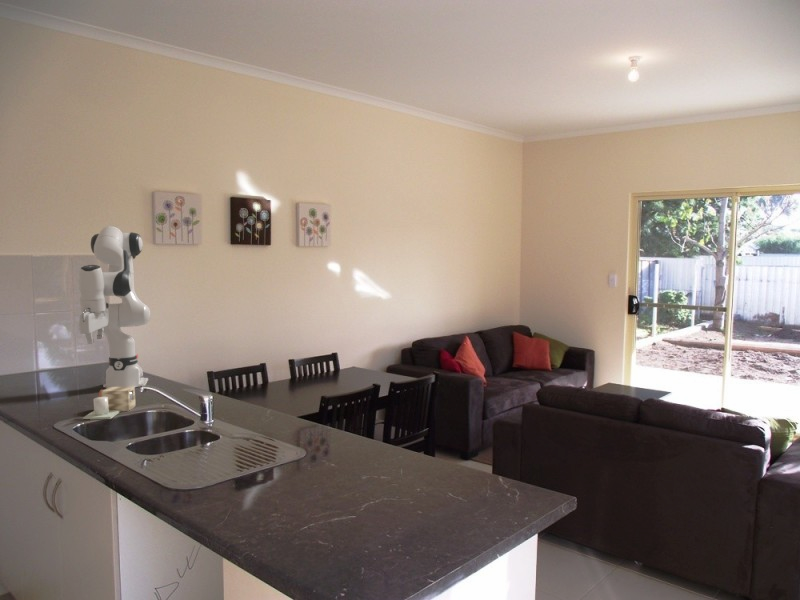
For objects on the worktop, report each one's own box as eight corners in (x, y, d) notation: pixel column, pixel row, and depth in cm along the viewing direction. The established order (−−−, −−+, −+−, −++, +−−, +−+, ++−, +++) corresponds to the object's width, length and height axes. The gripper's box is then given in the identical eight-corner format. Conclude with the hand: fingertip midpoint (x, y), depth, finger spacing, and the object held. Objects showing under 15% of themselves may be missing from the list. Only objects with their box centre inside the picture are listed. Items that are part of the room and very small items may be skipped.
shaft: (98, 406, 245) (97, 391, 245) (104, 402, 251) (103, 388, 251) (129, 405, 246) (128, 390, 246) (134, 401, 252) (133, 387, 252)
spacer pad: (93, 412, 243) (93, 410, 243) (120, 412, 244) (119, 410, 244) (82, 419, 233) (82, 417, 233) (110, 418, 234) (110, 416, 234)
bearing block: (102, 412, 245) (101, 391, 244) (110, 406, 252) (109, 386, 252) (128, 411, 245) (127, 390, 245) (135, 406, 253) (134, 386, 253)
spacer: (97, 412, 241) (96, 397, 241) (111, 411, 241) (109, 396, 241) (92, 415, 236) (91, 400, 236) (105, 415, 236) (104, 399, 236)
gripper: (91, 310, 236) (93, 346, 237) (110, 303, 256) (112, 336, 258) (73, 310, 235) (76, 346, 237) (94, 303, 255) (96, 336, 257)
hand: (95, 341), depth 247 cm, fingers open, 8 cm apart
